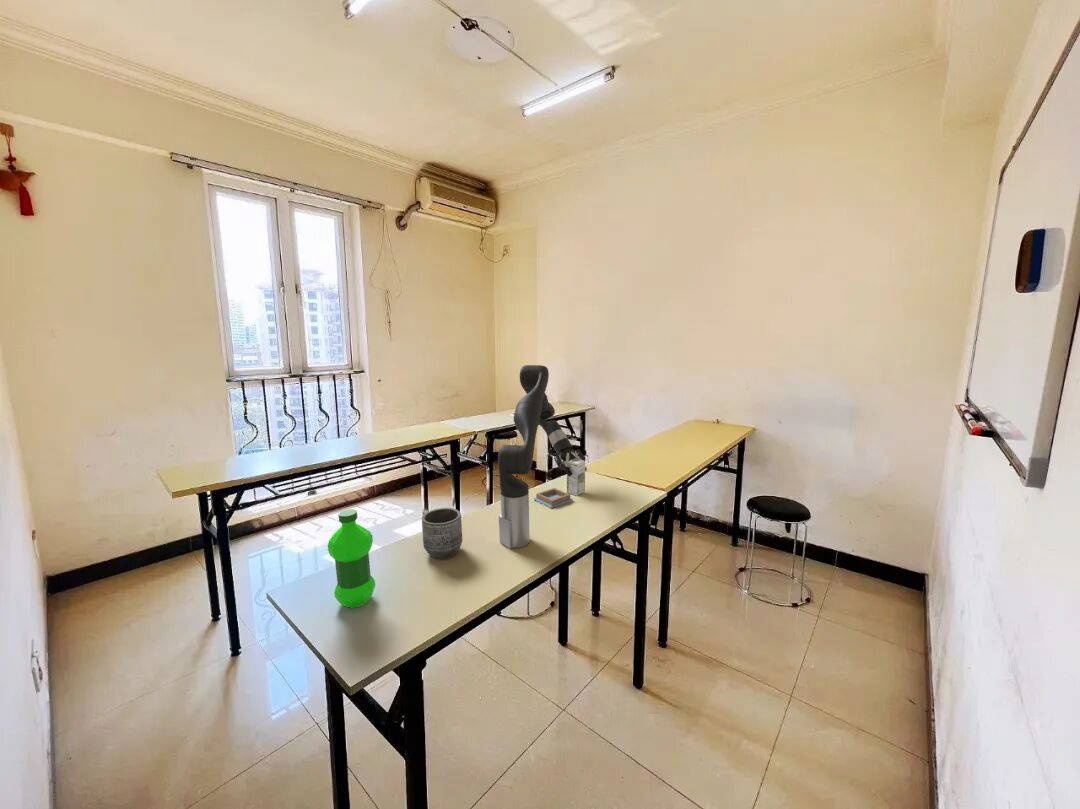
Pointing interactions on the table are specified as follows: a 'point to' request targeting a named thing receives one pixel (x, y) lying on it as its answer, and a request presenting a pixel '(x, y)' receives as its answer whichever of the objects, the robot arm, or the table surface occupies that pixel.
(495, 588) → the table surface
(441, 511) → the planter
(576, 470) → the syrup box
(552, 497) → the footing plate
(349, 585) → the plastic bottle
